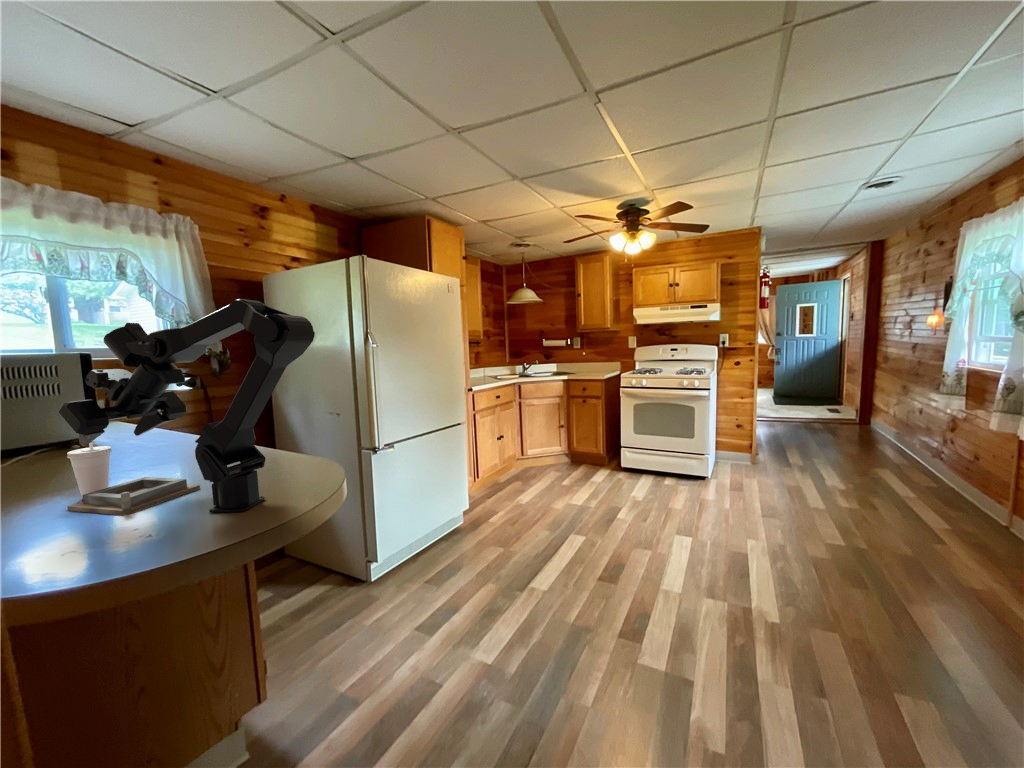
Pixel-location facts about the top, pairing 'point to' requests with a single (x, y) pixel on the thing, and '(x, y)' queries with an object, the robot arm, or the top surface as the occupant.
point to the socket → (133, 495)
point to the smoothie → (91, 467)
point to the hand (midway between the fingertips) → (110, 439)
